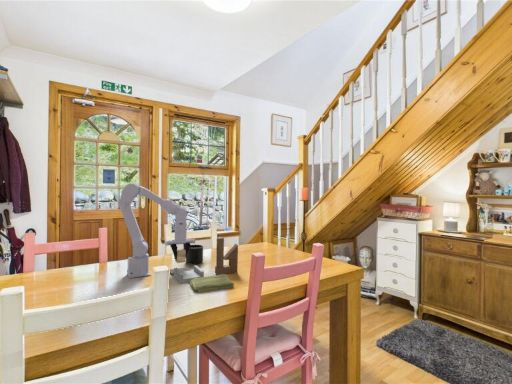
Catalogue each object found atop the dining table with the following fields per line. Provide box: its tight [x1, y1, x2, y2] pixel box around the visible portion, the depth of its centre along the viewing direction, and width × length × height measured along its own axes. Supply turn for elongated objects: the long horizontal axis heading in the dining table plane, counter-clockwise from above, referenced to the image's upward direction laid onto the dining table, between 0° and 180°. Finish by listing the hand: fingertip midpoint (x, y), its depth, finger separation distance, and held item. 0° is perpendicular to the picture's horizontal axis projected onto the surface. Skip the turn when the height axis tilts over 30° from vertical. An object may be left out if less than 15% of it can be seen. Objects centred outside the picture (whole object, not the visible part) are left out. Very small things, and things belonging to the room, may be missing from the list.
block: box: [174, 247, 186, 264], centre depth 142 cm, size 4×4×6 cm
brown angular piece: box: [214, 236, 239, 275], centre depth 142 cm, size 4×11×18 cm, turn 115°
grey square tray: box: [173, 264, 205, 284], centre depth 133 cm, size 11×11×4 cm
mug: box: [185, 244, 204, 265], centre depth 160 cm, size 9×12×9 cm
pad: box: [169, 266, 192, 276], centre depth 143 cm, size 10×7×1 cm
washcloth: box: [189, 274, 235, 293], centre depth 125 cm, size 13×18×3 cm
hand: (180, 258), depth 143 cm, fingers closed on block, 4 cm apart
